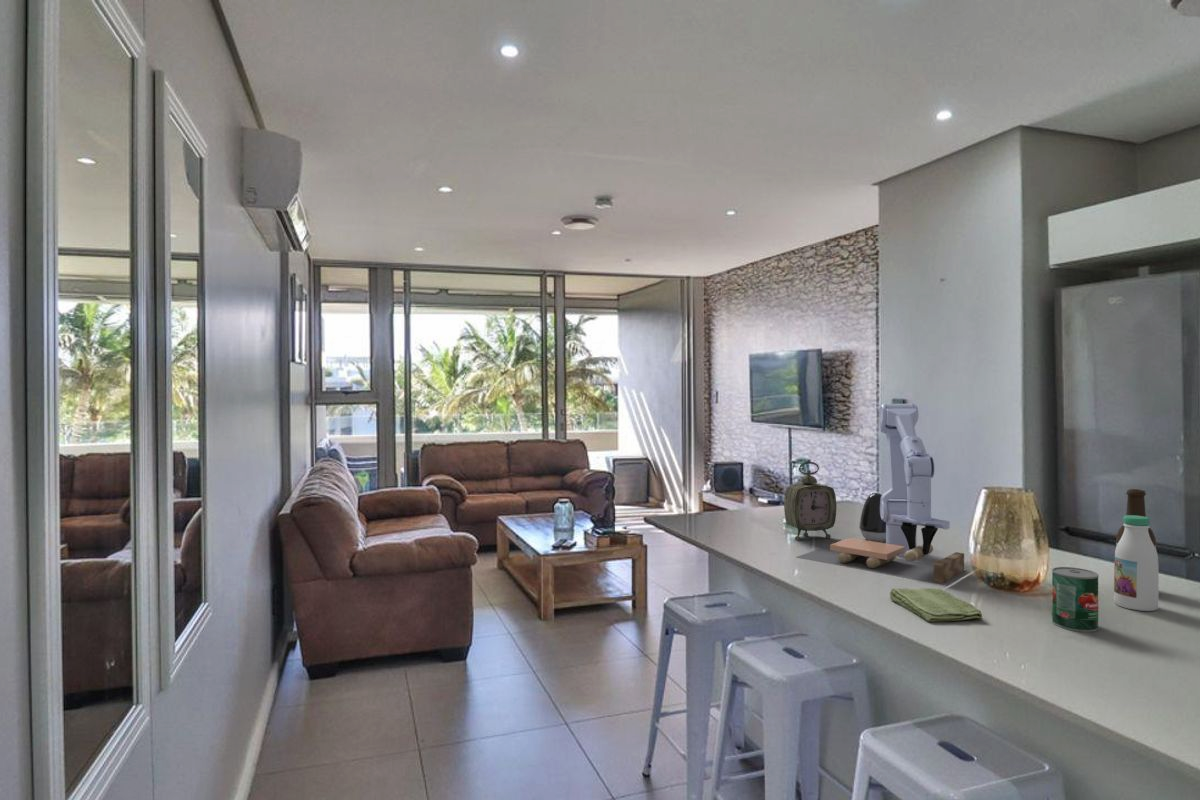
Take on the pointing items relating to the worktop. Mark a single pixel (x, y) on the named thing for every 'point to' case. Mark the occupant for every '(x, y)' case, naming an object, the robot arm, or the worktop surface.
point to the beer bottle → (1135, 511)
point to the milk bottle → (1136, 567)
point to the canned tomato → (1075, 599)
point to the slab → (868, 548)
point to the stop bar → (948, 567)
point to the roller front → (877, 562)
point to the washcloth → (934, 604)
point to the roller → (916, 553)
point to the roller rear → (847, 557)
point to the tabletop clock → (810, 505)
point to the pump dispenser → (872, 519)
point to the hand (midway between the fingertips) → (919, 552)
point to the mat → (890, 568)
